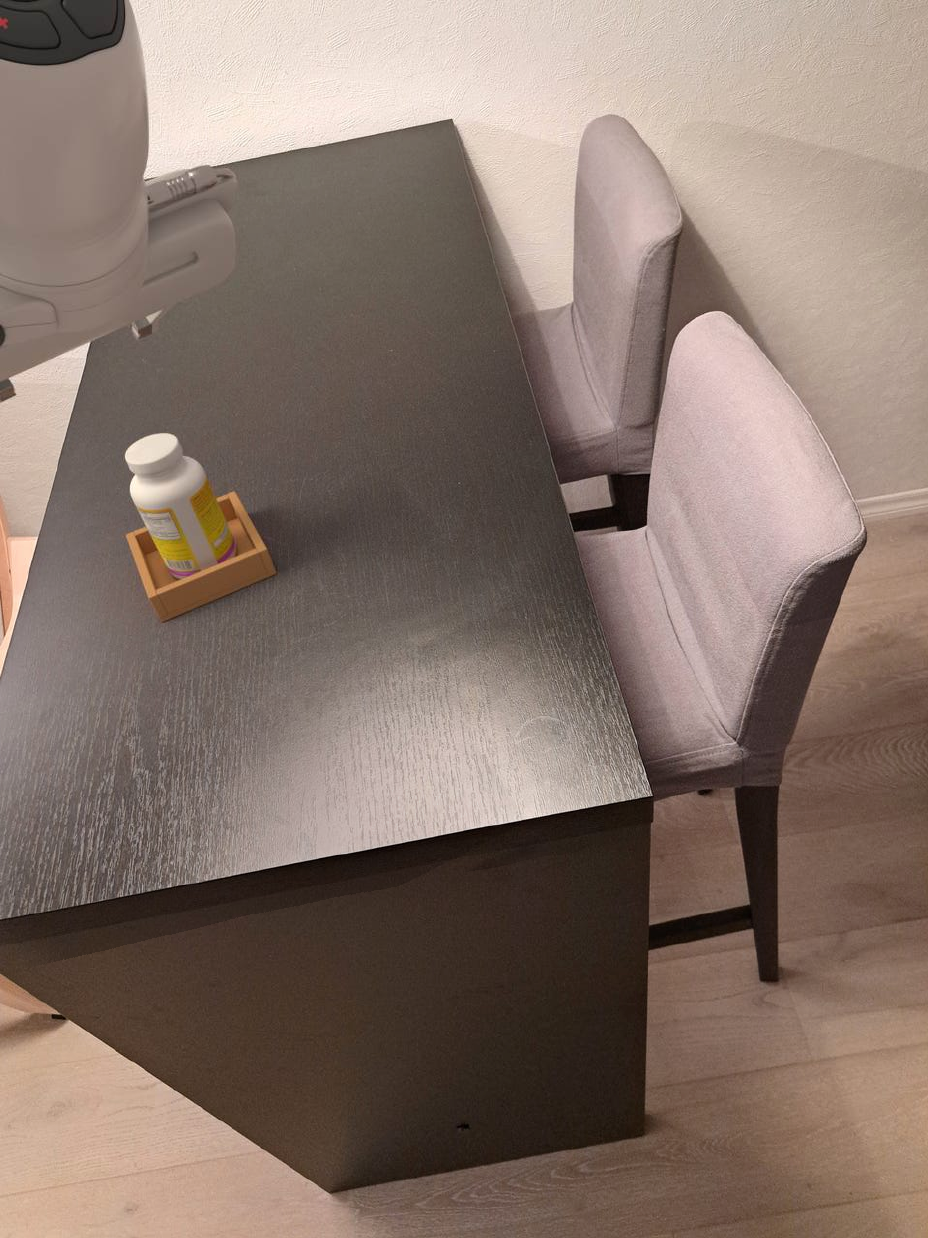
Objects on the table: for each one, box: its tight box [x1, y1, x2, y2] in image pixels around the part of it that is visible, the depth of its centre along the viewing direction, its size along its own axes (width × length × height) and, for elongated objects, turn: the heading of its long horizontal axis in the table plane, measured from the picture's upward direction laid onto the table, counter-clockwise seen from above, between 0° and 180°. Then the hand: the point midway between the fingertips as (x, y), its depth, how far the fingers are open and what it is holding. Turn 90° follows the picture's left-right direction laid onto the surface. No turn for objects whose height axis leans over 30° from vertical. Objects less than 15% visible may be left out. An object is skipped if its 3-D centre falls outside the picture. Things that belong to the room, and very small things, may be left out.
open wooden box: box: [125, 490, 277, 623], centre depth 89 cm, size 11×11×3 cm
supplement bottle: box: [124, 432, 236, 580], centre depth 85 cm, size 7×7×13 cm
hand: (71, 357), depth 58 cm, fingers open, 8 cm apart
